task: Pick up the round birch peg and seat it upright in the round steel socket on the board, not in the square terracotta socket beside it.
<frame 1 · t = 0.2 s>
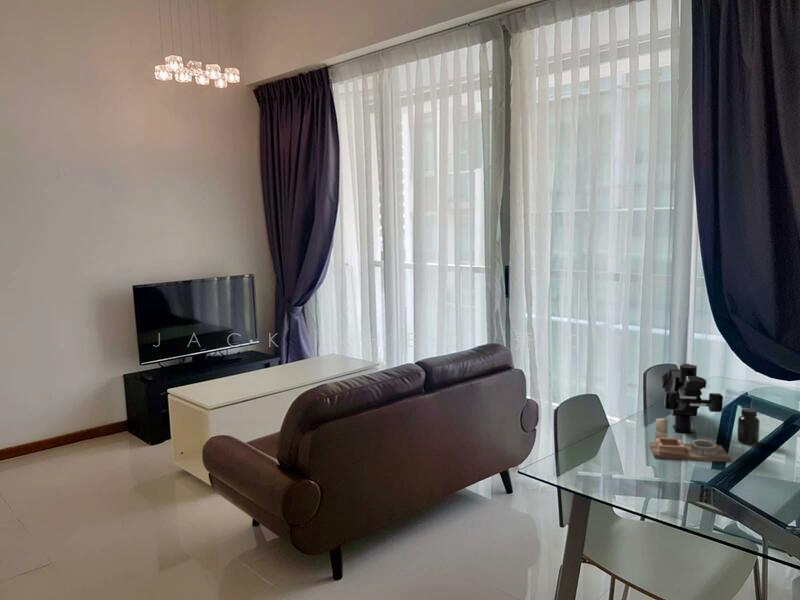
hand: (698, 409, 212), 16 cm above the table, tool horizontal, fingers open, 9 cm apart
round peg: (661, 440, 228), on the table
supplement bottle: (747, 442, 224), on the table
socket board: (688, 453, 216), on the table
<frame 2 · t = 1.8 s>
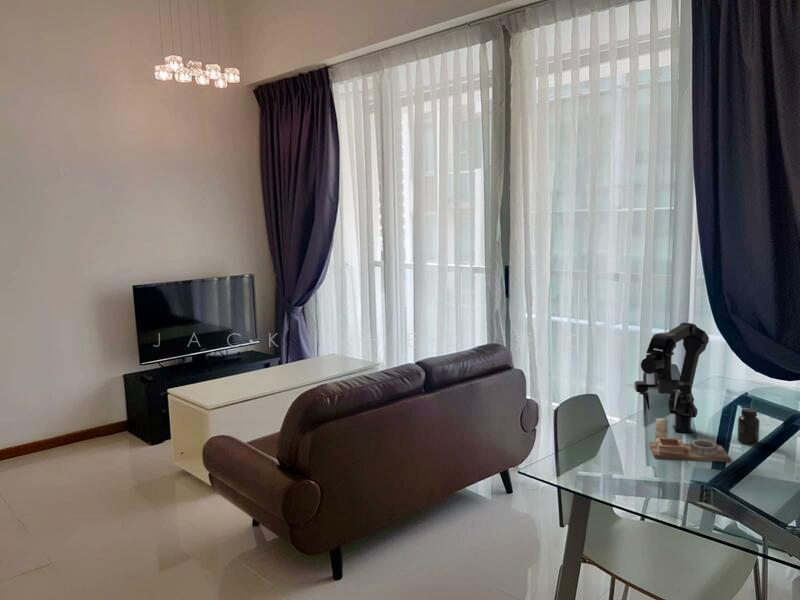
hand: (661, 409, 227), 12 cm above the table, tool pointing down, fingers open, 9 cm apart
nothing on the table moved.
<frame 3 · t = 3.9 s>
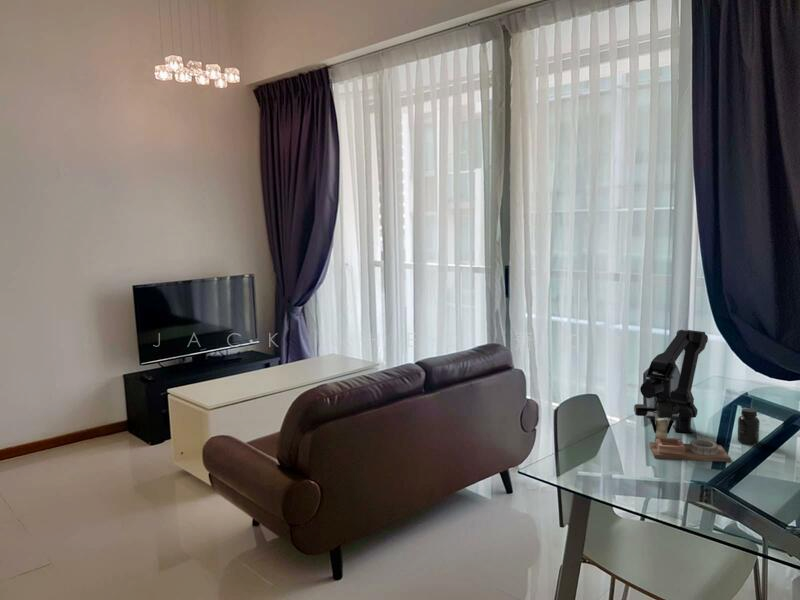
hand: (661, 433, 228), 3 cm above the table, tool pointing down, fingers closed on round peg, 4 cm apart
round peg: (661, 440, 228), on the table, touching gripper
everything else where it was.
when the fingers open (5 cm above the table, at t = 9.9 s): round peg drops 1 cm, resting on socket board.
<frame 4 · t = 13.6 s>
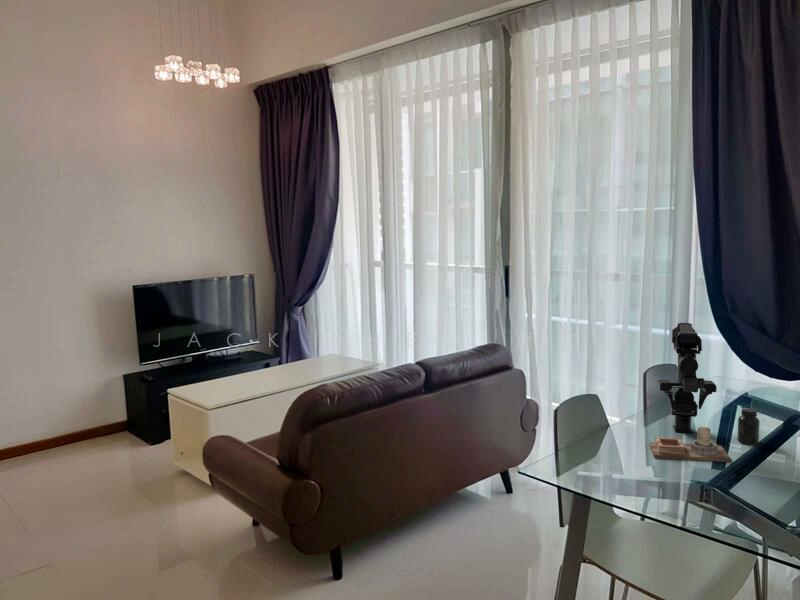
hand: (685, 408, 224), 13 cm above the table, tool pointing down, fingers open, 9 cm apart
round peg: (703, 450, 215), point 1 cm above the table, touching socket board
everything else where it was.
at the end: round peg 0.0 cm from the target spot on the socket board, point 1.2 cm above the socket board's base; round peg tilted 0°; the gripper is holding nothing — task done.
